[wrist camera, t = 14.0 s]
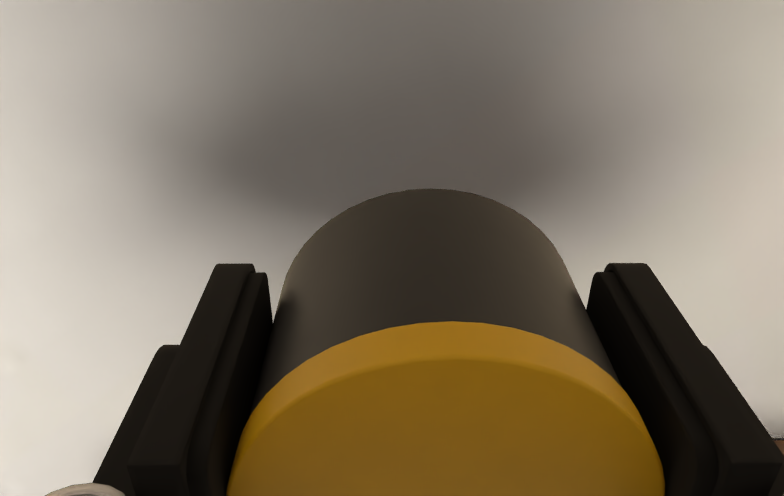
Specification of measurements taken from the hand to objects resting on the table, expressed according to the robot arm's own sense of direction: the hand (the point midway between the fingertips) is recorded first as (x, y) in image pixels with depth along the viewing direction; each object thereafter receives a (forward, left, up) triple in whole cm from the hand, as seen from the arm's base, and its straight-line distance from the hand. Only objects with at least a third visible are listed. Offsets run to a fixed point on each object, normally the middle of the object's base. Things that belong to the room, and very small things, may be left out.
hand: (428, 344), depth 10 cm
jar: (0, 0, -1) cm, 1 cm away
